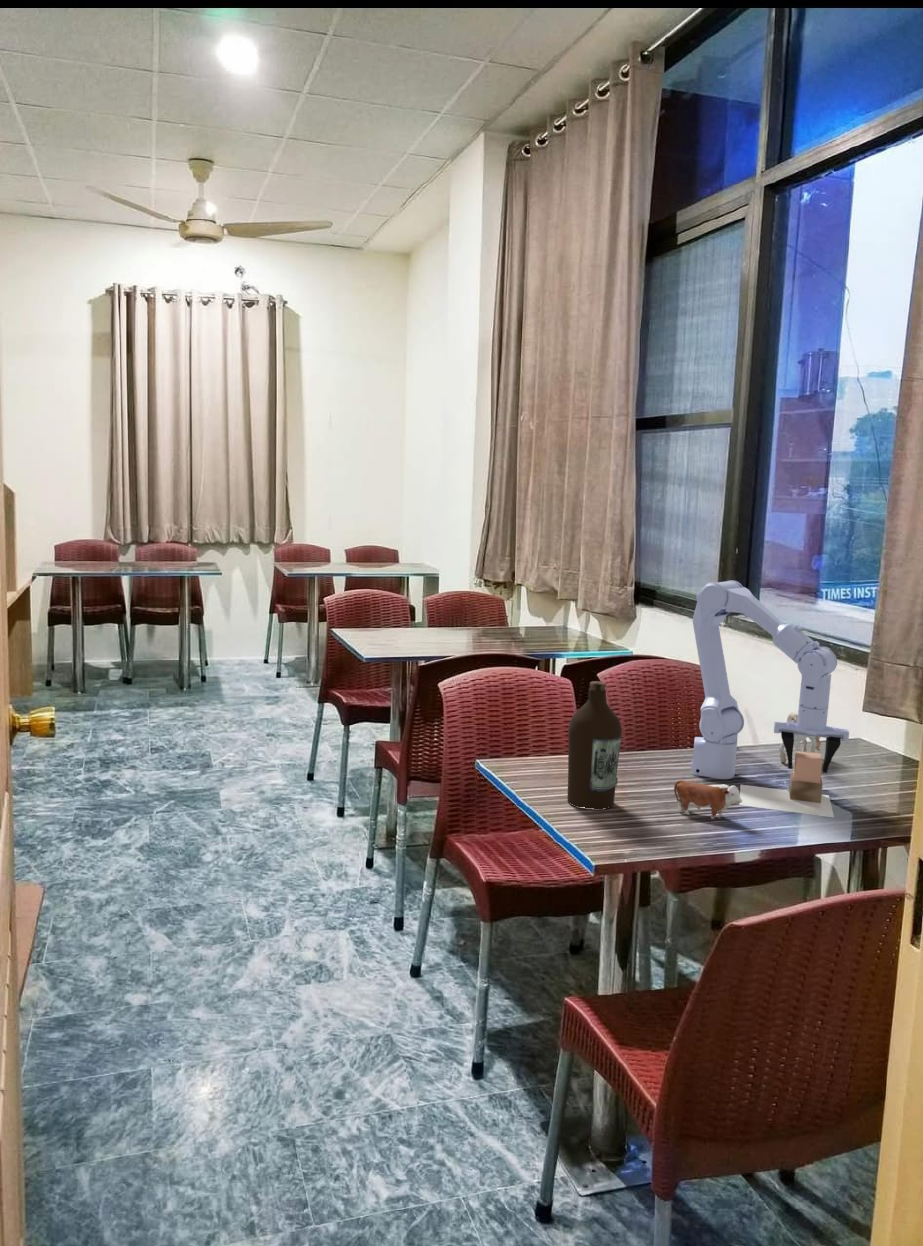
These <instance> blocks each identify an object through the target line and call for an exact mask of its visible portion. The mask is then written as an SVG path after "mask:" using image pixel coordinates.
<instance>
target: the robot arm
mask: <svg viewBox="0 0 923 1246" xmlns="http://www.w3.org/2000/svg"><path fill="white" fill-rule="evenodd" d="M695 596H696V597H695V598H696V606H695V609H694V613H693V616H692V625H693V631H694V637H695V638H694V639H695V644H696V650H697V657H698V661H699V668H700V673H701V681H702V685H703V686H702V687H703V692H704V701H703V702H702V705H701V706H700V709H699V710H700V720H699V731H700V734H701V736H702V737H701V736H695V737H694V740H693V741H694V743H693V753H692V760H691V763H690V769H691V775H693V776H699V777H700V776H701V777H706V778H712V779H718V780H728V779H733V778H735V772H736V771H735V770H736V759H737V747H738V735H739V733H741V732H742V730H743V729H744V726H745V719H744V718H745V717H744V716H743V714H742V713H741V711H740V709H739V705H738V701H737V700H736V699H735V698H734V697H733V696H732V695H731V692H730V690H731V689H730V685H729V679H728V673H727V668H726V660H725V655H724V650H723V648H724V647H723V644H722V638H721V630H720V624H721V623H722V622H723V621H724V619H725V618H727V616H728V615H729V614H730V613H735V614H736V613H738V614H743V615H744V616H746V617H748V618H749V619H750V620H751V621H753V622H754V623H755V624H757V625H758V626H759V627H760V628H761V629H763V630H765V631H766V632H767V633H768V634H769V635H771V637H772V644H773V645H774V646H775V647H777V648H778V649H779V650H780V651H781V652H782V653H784V655H786V656H787V657H788V658H790V659H791V660H792V661H793V662H794V663H795V664H796V665H797V669H798V671H799V673H800V674H801V682H800V688H799V689H800V691H799V700H798V710H797V715H798V719H797V723H787V722H782V721H781V722H779V721H774V727H773V733H774V734H780V737H781V740H783V743H784V750H785V752H786V753H785V754H786V757H787V769H789V770H793V752H794V746H795V743H794V734H796V735H806V736H815V737H820V738H824V739H825V750H824V751H825V753H824V757H823V762H822V772H823V774H827V773H828V769H829V767H830V764H831V761H832V759H833V758H834V756H835V754H836V752H837V751H838V750H839V748H840V746H841V740H842V741H846V742H849V738H850V730H849V729H845V728H840V727H839V728H837V727H833V726H827V722H828V715H829V714H828V713H829V712H828V711H829V705H830V704H829V702H830V694H831V684H832V683H831V681H832V673H833V672H834V671H835V670H836V668H837V665H838V658H837V655H835V653H834V651H832V649H831V648H830V647H827V646H820V643H819V641H817V640H816V641H815V640H813V639H812V638H811V637H810V636H808V635H807V634H806V633H804V632H803V631H802V630H803V627H802V626H800V625H799V624H797V625H794V623H784V622H783V621H781V620H780V619H779V618H778V617H777V616H776V615H774V613H773V612H772V611H770V610H769V609H768V608H767V607H766V606H765V605H764V604H763V603H762V602H761V601H760V600H758V599H757V598H756V596H754V595H753V593H752V592H751V590H750V589H748V588H747V587H744V586H743V585H742V583H740V582H739V581H737V580H731V579H730V580H726V581H721V582H720V581H718V582H714V581H713V582H712V581H711V582H708V583H707V584H705V585H704V586H702V587H701V589H700V590H699V591H698V592H697V594H696V595H695ZM697 770H699V771H697Z"/></svg>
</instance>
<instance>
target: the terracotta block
mask: <svg viewBox="0 0 923 1246" xmlns="http://www.w3.org/2000/svg"><path fill="white" fill-rule="evenodd" d="M794 752H795V753H794V762H793V763H794V764H793V769H792V770H793V771H792V773H793V775H794V781H802V782H811V783H819V784H820V779H821V780H822V770H823V758H822V754H821V753H817V752H815V753H810V751H809V752H808V751H807V752H802V750H801V751H796V750H795V751H794Z"/></svg>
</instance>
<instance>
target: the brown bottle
mask: <svg viewBox="0 0 923 1246" xmlns="http://www.w3.org/2000/svg"><path fill="white" fill-rule="evenodd" d="M606 686H607V683H606V682H605V681H599V680H595V681H594V680H592V681H591V682H589V688H588V699H587V701H586V702H585V703H584V704H583V705H582V706H581V707H580V708H578V710H577V711H575V713H573V715H572V717H571V718H570V720H569V724H568V731H567V733H568V734H567V735H568V736H567V737H568V739H567V740H568V742H567V743H568V744H567V745H568V746H567V747H568V749H567V750H568V753H567V754H568V758H567V759H568V762H567V770H568V771H567V802H568V804H569V803H571V804H573V805H575V806H578V807H585V808H594V809H603V808H608V807H611V808H612V807H613V806H614V804H615V795H616V794H615V793H616V787H617V786H618V779H619V778H618V777H617V775H618V766H619V758H620V750H621V741H622V733H623V732H622V729H623V728H622V725H621V721H620V719H619V717H618V715H617V714H616V713H615V712H614V710H612V708H611V707H610V706H609V704H608V703H607V702H606V698H607V697H606V696H607V690H606ZM571 804H570V805H571Z"/></svg>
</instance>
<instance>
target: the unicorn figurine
mask: <svg viewBox="0 0 923 1246" xmlns="http://www.w3.org/2000/svg"><path fill="white" fill-rule="evenodd" d="M797 719H798V713H797V712H793V711H791V712H790V713H789V714H788V716H787V719H786V723H797ZM807 739H809V740H810V742H811V743H812V745H811V748H810V750H809V752H810V753H816V750H817V751H818V752H820V751H821V750H820V747H821V746H822V742H821V740H820V739H821V737H815V736H806V735H796V734H794V746H795V747H794V748H795V751H800V750H801V752H808V751H807V744H808V741H807ZM781 740H782V739H781ZM800 743H802V749H800V745H801V744H800ZM784 750H785V746H784V743H783V740H782V741H781V743H780V745H779V748H778V751H779V760H780V762H781V763H782V764H785V763H786V762H787V758H786V757H787V753H785V752H784Z"/></svg>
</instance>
